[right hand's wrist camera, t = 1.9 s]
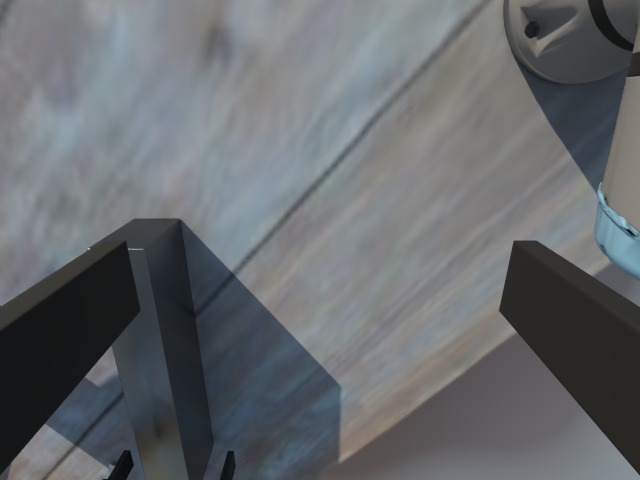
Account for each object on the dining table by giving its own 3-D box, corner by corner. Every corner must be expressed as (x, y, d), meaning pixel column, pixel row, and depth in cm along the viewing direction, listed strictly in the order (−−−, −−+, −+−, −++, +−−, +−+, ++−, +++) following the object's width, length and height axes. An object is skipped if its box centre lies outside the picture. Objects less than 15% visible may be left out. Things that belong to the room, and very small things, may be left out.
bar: (134, 218, 41) (86, 249, 32) (180, 218, 41) (143, 249, 32) (179, 444, 54) (152, 507, 45) (213, 444, 54) (194, 507, 45)
